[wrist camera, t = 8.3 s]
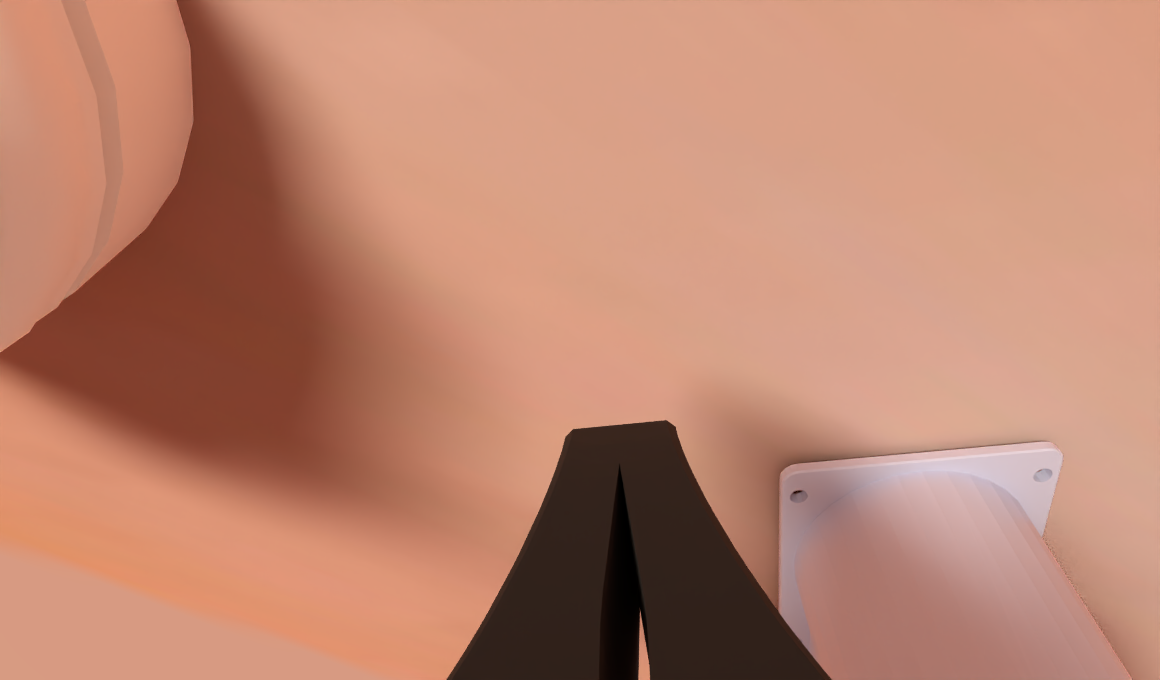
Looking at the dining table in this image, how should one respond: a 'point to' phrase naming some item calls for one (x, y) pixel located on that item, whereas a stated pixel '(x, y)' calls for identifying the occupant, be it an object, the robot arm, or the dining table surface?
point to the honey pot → (83, 140)
